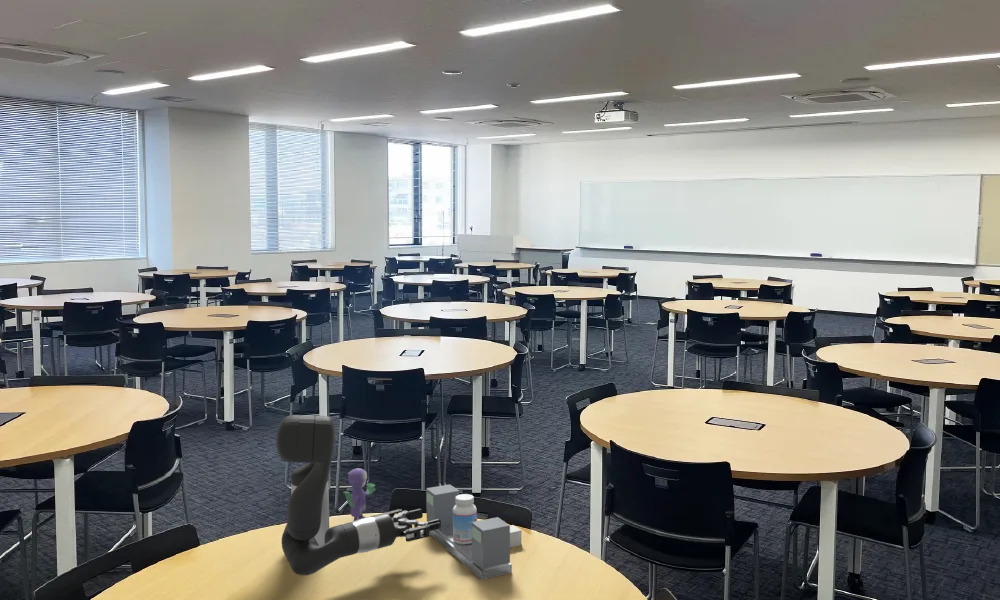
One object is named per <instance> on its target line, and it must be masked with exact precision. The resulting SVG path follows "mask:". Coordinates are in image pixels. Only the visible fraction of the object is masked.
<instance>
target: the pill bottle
mask: <svg viewBox="0 0 1000 600" xmlns="http://www.w3.org/2000/svg"><path fill="white" fill-rule="evenodd" d="M474 499H475V496H473V495H472V494H469V493H461V494H459V495H457V496H456V498H455V502H456V504H457V505H455V506H454V508H453V540H454V542H456V543H458V544H471V543H472V522H476V521H478V511H477V510H478V509H477V507H476V505H475V504H474V502H475V500H474Z"/></svg>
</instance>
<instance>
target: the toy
mask: <svg viewBox="0 0 1000 600" xmlns="http://www.w3.org/2000/svg"><path fill="white" fill-rule="evenodd" d="M367 473H368V472H367V471H366V470H365V469H364V468H359V467H358V468H354V469H352V470H350V471H349V472H347V475H348V479H347V480H348V482H349V484H350V486H351V487H352V490H351V492H350V491H342V494H344V496H345V498H346V501H347V504H348V506H349V507H350V515H351V517H353V521H355V520H358V519H362V518H366V516H364V515H363V512H365V511H366V509H367V507H366V506H367V505H368V503H367V500H366V496H370V495H372V494H374V493H373V492H375V491H376V488H375V487H376V484H374V483H371V482H369V483H366V480H367V479H368V474H367ZM365 486H366V490H364V489H363V488H364V487H365ZM353 521H352V522H353Z"/></svg>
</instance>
